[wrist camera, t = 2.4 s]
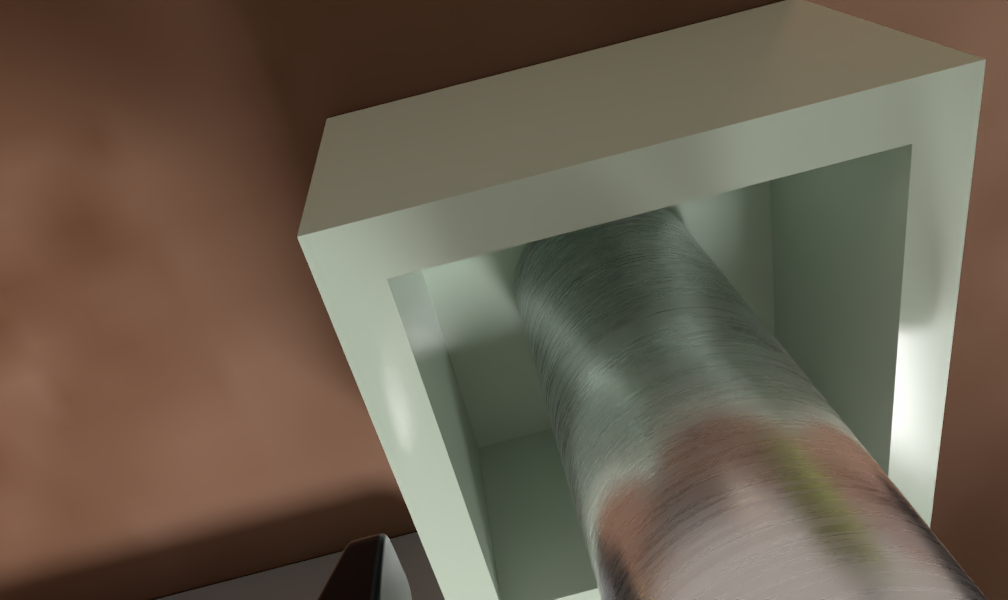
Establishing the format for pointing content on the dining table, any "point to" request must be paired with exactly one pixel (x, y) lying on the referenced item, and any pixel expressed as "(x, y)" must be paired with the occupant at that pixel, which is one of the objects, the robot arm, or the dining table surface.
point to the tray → (319, 578)
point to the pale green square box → (631, 191)
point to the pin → (706, 435)
